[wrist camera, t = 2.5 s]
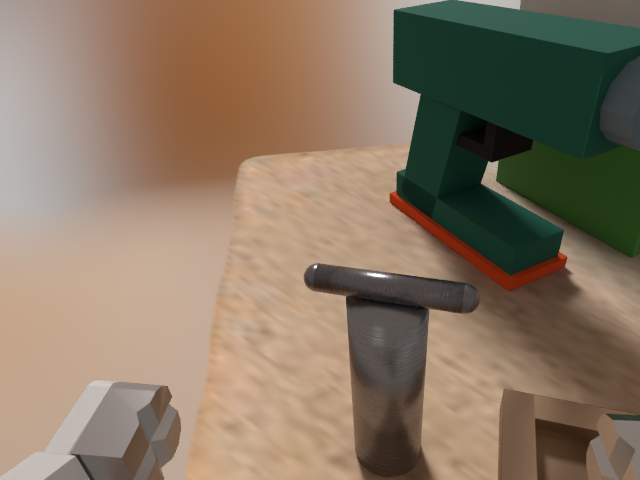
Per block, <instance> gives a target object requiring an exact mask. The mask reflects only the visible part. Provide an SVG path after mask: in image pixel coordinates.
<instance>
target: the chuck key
mask: <svg viewBox="0 0 640 480" xmlns="http://www.w3.org/2000/svg"><path fill="white" fill-rule="evenodd" d="M304 282H305V284H306V286H307V287H308V288H309V289H311V290H313V291H316V292H323V293H329V294H336V295H343V296H346V306H347V322H348V338H349V355H350V371H351V387H352V403H353V420H354V436H355V450H356V454H357V457H358V459H359V460H360V462H361V463H362V464H363V466H364V467H365V468H367V469H368V470H369V471H371V472H373V473H375V474H377V475H380V476H386V477H394V476H399V475H402V474H404V473H406V472H408V471H409V470H411V469H412V468H413V467H414V465H415V464H416V463H417V461H418V459H419V455H420V446H421V430H422V415H423V399H424V383H425V368H426V352H427V336H428V321H429V309H434V310H441V311H447V312H454V313H461V314H467V313H471V312H473V311H474V310H475V309H476V308H477V307H478V305H479V301H480V297H479V293H478V291H477V290H476V288H475V287H473V286H472V285H470V284H467V283H461V282H454V281H447V280H439V279H432V278H424V277H417V276H409V275H402V274H394V273H387V272H380V271H372V270H365V269H357V268H350V267H342V266H335V265H327V264H320V263H316V264H313V265H311V266H309V267H308V268H307V269H306V271H305V273H304Z"/></svg>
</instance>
